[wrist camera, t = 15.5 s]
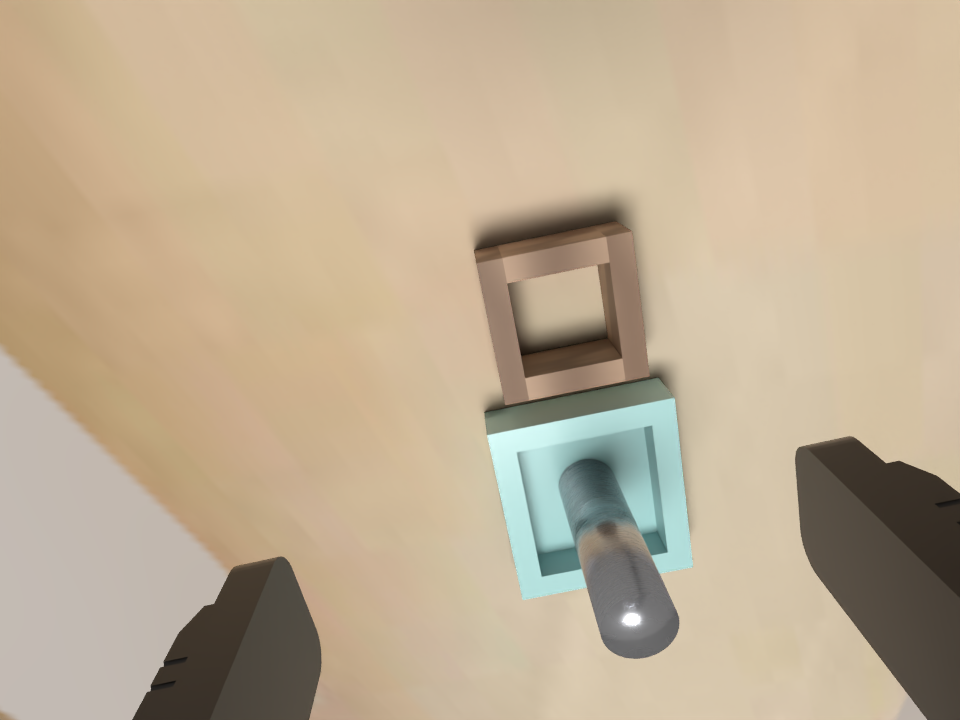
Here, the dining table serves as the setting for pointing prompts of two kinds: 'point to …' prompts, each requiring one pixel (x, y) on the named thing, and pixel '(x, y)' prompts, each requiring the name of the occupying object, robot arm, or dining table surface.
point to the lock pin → (616, 563)
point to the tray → (588, 435)
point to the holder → (574, 363)
